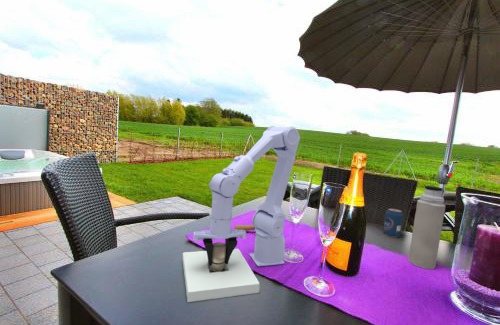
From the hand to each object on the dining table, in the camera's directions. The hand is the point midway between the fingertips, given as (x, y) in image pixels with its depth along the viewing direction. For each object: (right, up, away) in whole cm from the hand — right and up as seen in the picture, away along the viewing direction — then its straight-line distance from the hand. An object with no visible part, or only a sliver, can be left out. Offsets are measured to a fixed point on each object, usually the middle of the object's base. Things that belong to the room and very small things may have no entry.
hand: (217, 263), depth 70 cm
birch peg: (0, -2, 0) cm, 2 cm away
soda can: (+75, -6, +45) cm, 88 cm away
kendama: (+12, -2, +34) cm, 36 cm away
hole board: (0, -4, 0) cm, 3 cm away
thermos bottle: (+71, -8, +18) cm, 73 cm away
